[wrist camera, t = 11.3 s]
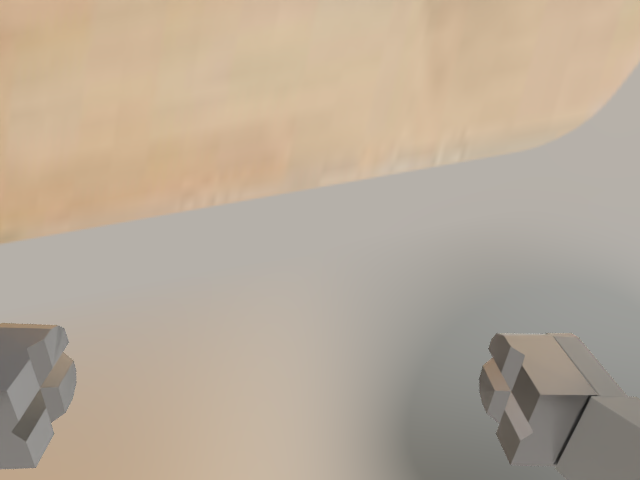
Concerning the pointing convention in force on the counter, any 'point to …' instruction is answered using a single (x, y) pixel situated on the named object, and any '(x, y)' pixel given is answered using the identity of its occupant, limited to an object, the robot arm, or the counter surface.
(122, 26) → the counter surface
